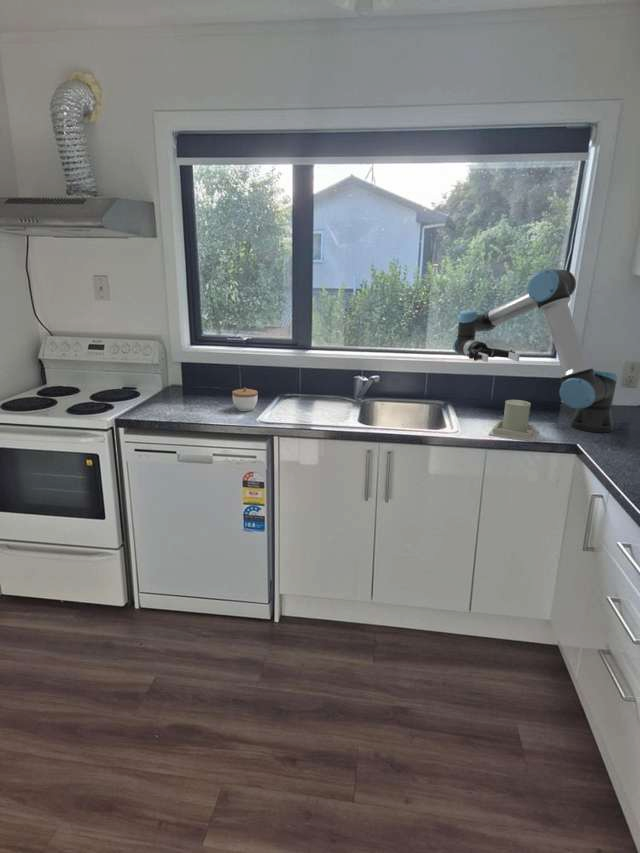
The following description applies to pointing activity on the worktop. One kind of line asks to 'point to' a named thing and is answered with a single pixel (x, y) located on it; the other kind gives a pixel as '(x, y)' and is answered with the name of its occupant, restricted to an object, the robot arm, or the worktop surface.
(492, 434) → the square tray
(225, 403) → the worktop surface
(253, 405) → the lidded jar
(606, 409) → the robot arm
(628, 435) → the worktop surface
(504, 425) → the can
